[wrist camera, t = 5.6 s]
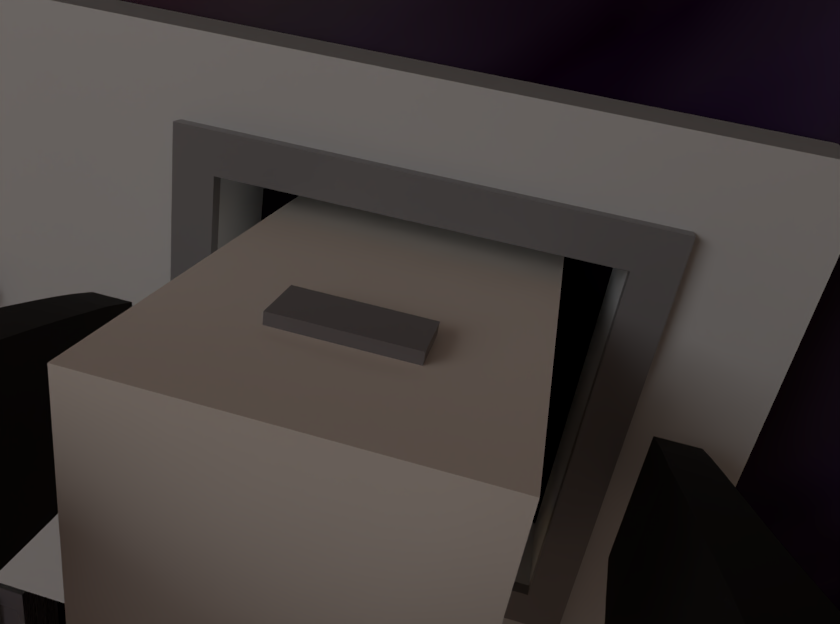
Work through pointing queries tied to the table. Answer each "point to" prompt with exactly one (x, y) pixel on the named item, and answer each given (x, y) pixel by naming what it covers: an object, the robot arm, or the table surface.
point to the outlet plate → (431, 205)
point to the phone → (26, 607)
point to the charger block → (310, 430)
